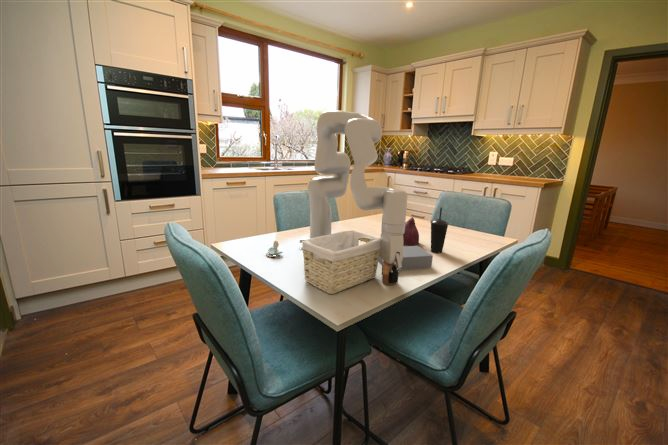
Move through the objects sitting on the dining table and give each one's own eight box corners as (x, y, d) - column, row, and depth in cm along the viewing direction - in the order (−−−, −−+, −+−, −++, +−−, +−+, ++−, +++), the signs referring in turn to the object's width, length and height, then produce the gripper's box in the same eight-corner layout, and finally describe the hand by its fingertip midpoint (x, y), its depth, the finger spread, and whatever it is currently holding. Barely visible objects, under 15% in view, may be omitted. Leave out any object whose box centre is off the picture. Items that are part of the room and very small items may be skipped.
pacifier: (271, 260, 123) (284, 256, 127) (270, 245, 122) (283, 242, 125) (263, 254, 129) (275, 251, 133) (262, 240, 127) (275, 237, 131)
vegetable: (419, 252, 145) (428, 225, 138) (397, 249, 145) (406, 221, 138) (415, 240, 154) (424, 214, 147) (395, 237, 154) (402, 211, 147)
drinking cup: (445, 250, 139) (450, 206, 135) (445, 255, 132) (450, 210, 128) (427, 247, 142) (432, 205, 137) (427, 253, 135) (431, 208, 130)
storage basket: (349, 264, 120) (350, 228, 117) (382, 278, 109) (384, 238, 105) (299, 281, 104) (299, 240, 101) (331, 299, 93) (332, 253, 89)
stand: (387, 270, 115) (388, 258, 113) (376, 259, 126) (377, 247, 125) (431, 267, 118) (432, 255, 117) (416, 257, 130) (417, 245, 129)
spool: (385, 285, 103) (386, 265, 101) (379, 279, 107) (380, 260, 106) (399, 284, 104) (400, 265, 102) (393, 278, 108) (394, 259, 107)
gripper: (373, 221, 108) (370, 269, 113) (392, 235, 92) (388, 291, 96) (393, 221, 110) (390, 268, 114) (415, 234, 94) (410, 289, 98)
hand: (389, 278), depth 105 cm, fingers open, 5 cm apart
